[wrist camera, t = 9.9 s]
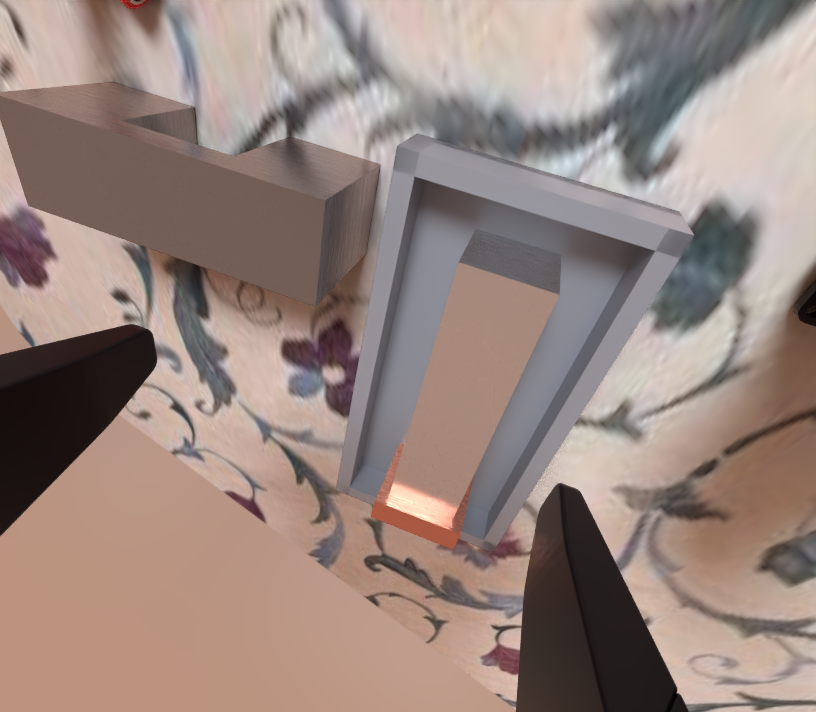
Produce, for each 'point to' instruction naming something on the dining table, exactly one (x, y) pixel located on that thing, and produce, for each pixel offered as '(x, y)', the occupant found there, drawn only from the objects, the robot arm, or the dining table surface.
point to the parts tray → (563, 332)
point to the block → (191, 187)
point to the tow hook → (133, 3)
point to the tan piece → (468, 382)
